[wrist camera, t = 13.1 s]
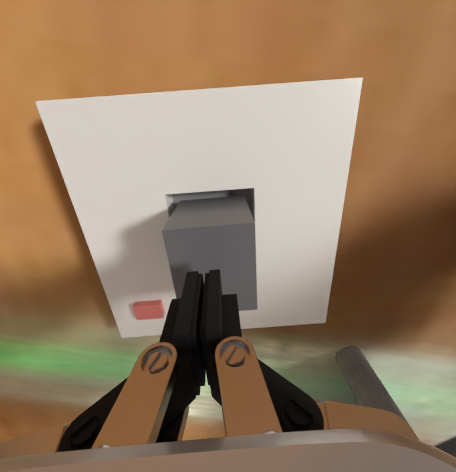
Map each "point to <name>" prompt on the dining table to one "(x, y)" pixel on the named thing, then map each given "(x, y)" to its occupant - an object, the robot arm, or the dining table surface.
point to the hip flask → (365, 381)
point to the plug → (214, 245)
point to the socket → (210, 187)
